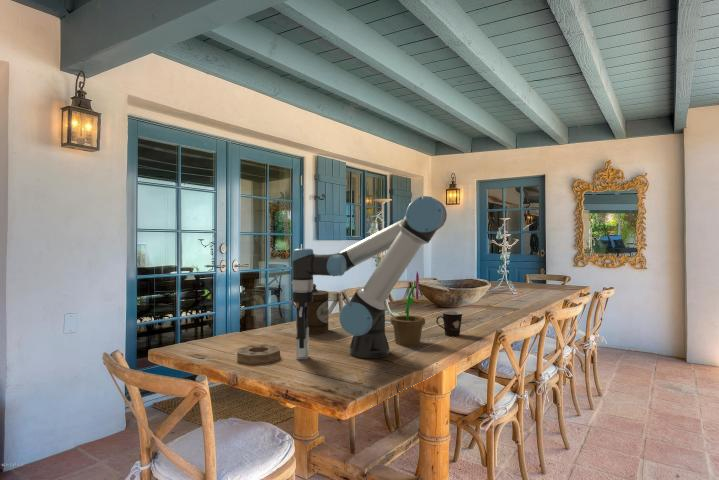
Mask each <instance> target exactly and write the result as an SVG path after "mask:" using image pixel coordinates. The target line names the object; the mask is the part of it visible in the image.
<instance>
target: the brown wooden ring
mask: <svg viewBox="0 0 719 480" xmlns="http://www.w3.org/2000/svg"><path fill="white" fill-rule="evenodd" d="M236 354H237V356H236V361H237V362H239V363H242V364H243V363H244V364H247V365H258V364H269V363H272V362H274V361H277V360H280V359H281V349H280V346H278V345H275V344H267V343H261V344H248V345H245V346H241V347H238V348H236Z"/></svg>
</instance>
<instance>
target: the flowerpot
mask: <svg viewBox="0 0 719 480" xmlns="http://www.w3.org/2000/svg"><path fill="white" fill-rule="evenodd" d="M415 277H416V278H415V284H414V285H413V286H412V287H411V289H410V291H409V293H408V295H407V300H406V301H407V302H406V307H405V308H404V313H405V315H403V314H400V315H393V316H392V317H390V324H391V325H392V326H393V335H394V343H395V344H396V345H399V346H403V347H414V346H418V345H420V344H421V338H422V330H423V326H424V325H425V324H426V318H425V317H422V316H419V315H410V310H409V309H410V307H409V306H411V305H413V304H414V303H415V300H417V301H419V291H420V286H419V282H420V281H419V280H420V277H419V273H418V271H416V275H415ZM414 290H415V300H414V298H412V297H411V296H412V293H413V292H414Z"/></svg>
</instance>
